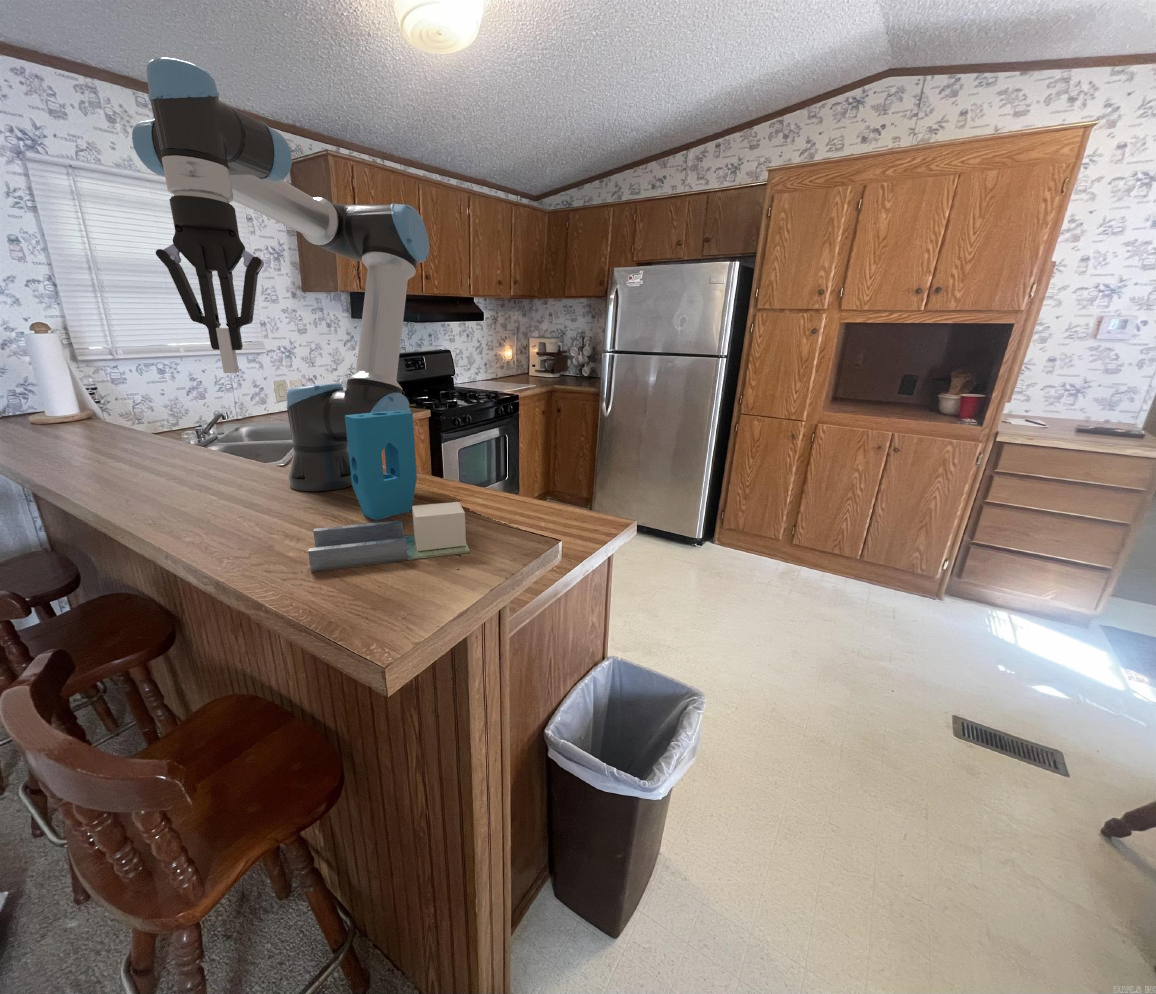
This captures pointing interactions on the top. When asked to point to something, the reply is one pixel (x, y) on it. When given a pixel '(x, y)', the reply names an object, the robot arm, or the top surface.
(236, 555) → the top surface
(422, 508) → the block
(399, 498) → the block
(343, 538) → the chute
